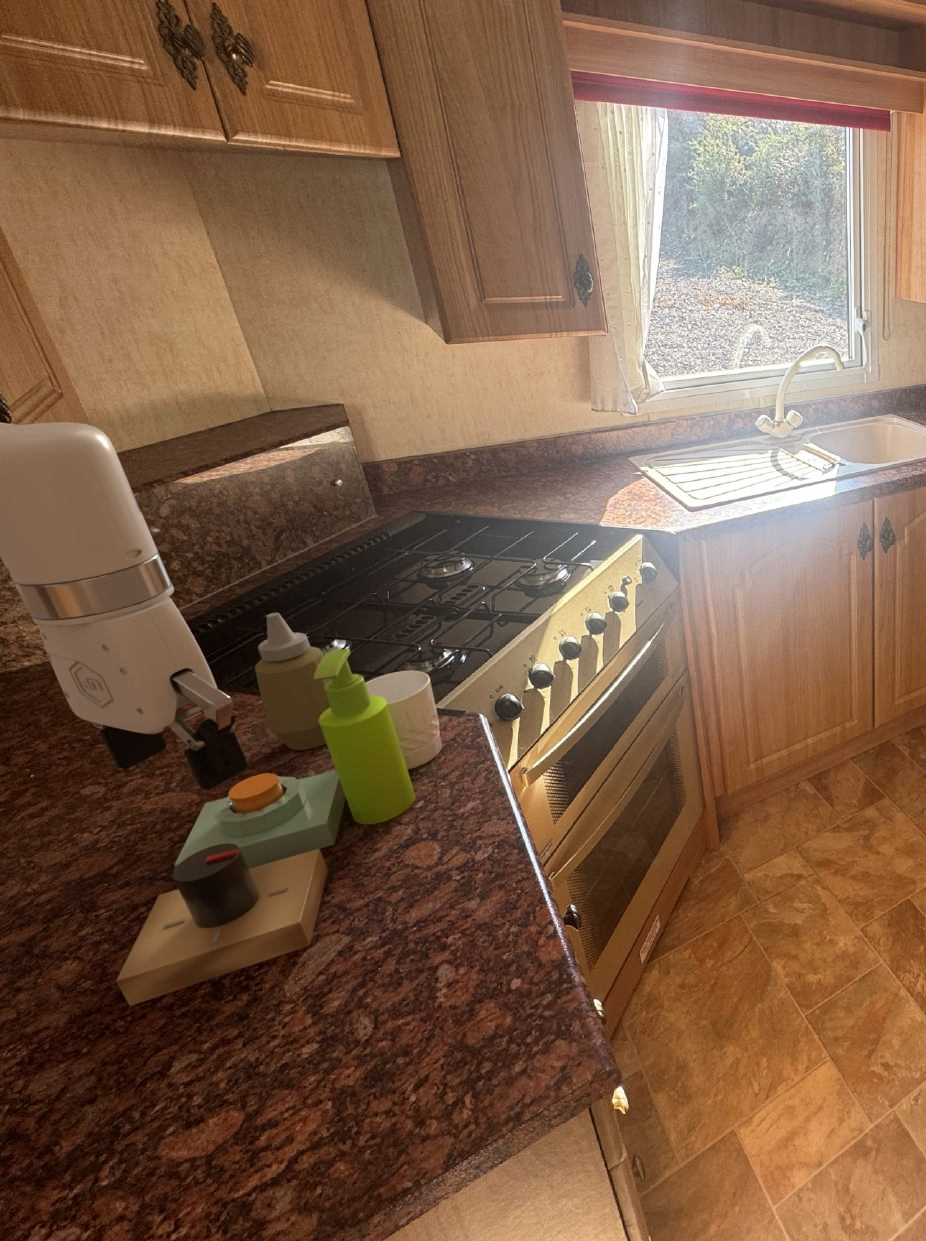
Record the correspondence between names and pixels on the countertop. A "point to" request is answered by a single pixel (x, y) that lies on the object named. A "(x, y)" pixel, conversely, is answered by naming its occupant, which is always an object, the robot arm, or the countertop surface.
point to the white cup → (411, 713)
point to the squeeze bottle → (291, 686)
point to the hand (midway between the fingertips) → (184, 768)
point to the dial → (216, 885)
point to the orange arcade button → (256, 793)
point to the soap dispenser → (363, 744)
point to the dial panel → (225, 931)
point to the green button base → (274, 822)
